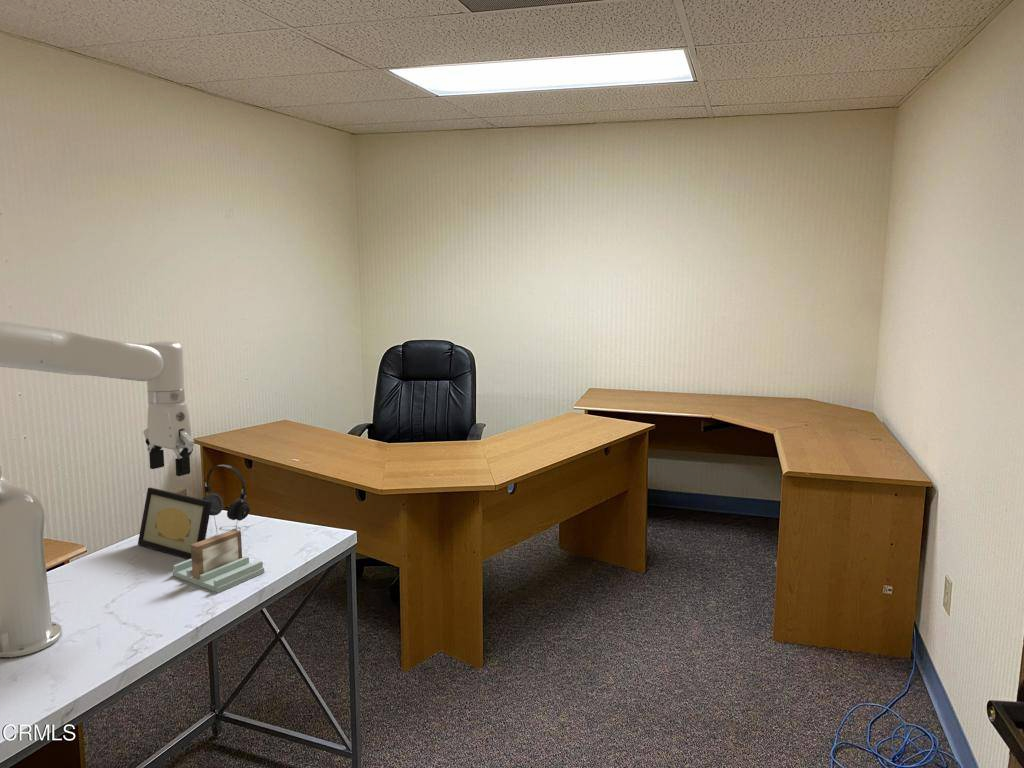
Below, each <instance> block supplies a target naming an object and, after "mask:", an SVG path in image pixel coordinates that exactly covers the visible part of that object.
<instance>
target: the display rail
mask: <svg viewBox="0 0 1024 768" xmlns="http://www.w3.org/2000/svg"><path fill="white" fill-rule="evenodd" d="M264 573H265V567H264V565H263V561H261V560H257V561H255V562H253V563H250V557H249V556H244V557H243V556H242V558H241V559H238V560H236V561H233V562H231V563H228V564H226V565H223V566H221V567H218V568H216V569H213V570H211V571H209V572H206V573H204V574H201V575H200V579H197V578H194V577H193V573H192V559H187V560H184V561H181V562H178V563H176V564H174V565H173V570H172V576H173V577H176V578H179V579H181V580H183V581H187V582H189V583H191V584H195V585H197V586H200V587H202V588H205V589H207V590H210V591H213V592H215V593H218V594H219V593H221V592H223V591H226V590H228V589H231V588H232V587H235V586H238V585H239V584H242V583H244V582H246V581H248V580H251V579H253V578H255V577H258V576H260V575H262V574H264Z"/></svg>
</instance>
